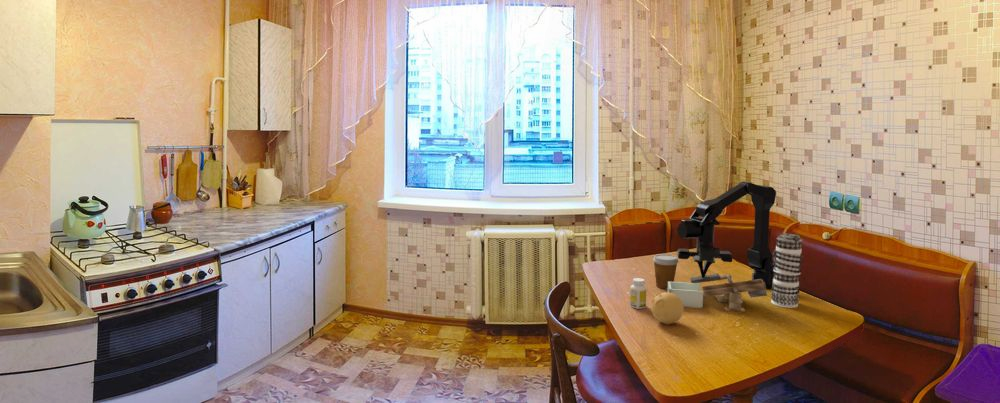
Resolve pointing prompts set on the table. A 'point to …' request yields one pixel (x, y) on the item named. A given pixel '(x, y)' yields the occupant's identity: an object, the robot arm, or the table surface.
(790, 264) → the decorative candle
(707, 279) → the lever
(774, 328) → the table surface
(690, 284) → the white storage tray
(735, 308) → the fulcrum stand
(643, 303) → the supplement bottle
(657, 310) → the stress ball
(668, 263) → the disposable coffee cup
